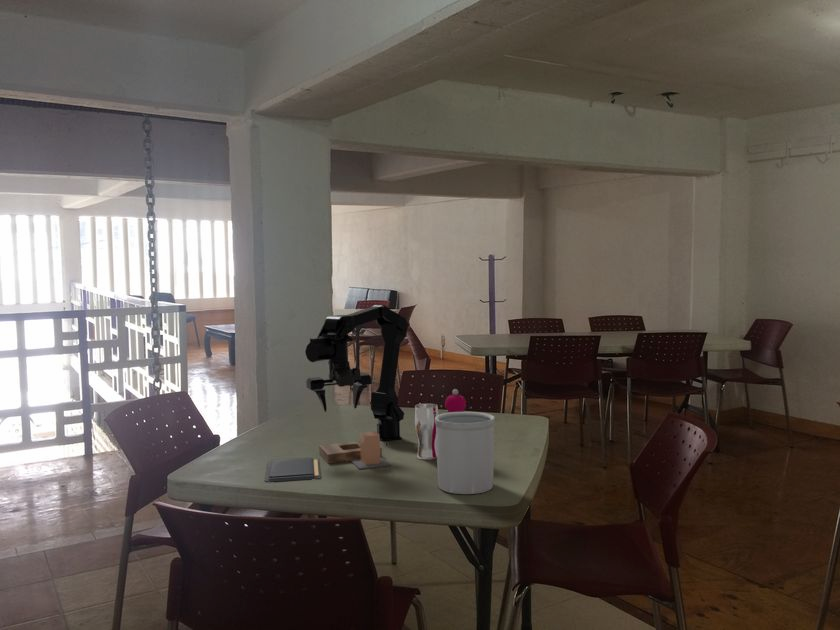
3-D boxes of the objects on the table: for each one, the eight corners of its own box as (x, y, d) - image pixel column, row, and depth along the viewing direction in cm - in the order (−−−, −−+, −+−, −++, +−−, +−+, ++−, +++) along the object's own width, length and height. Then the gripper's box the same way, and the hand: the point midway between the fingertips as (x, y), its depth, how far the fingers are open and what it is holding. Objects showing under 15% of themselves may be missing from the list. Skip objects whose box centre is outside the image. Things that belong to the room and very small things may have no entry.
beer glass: (442, 454, 203) (441, 403, 202) (435, 461, 197) (433, 408, 196) (419, 453, 206) (418, 402, 205) (411, 459, 199) (410, 407, 198)
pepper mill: (451, 463, 194) (450, 392, 193) (439, 457, 201) (437, 388, 199) (473, 459, 197) (472, 389, 196) (460, 453, 204) (459, 386, 202)
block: (375, 459, 198) (374, 431, 198) (380, 463, 194) (379, 434, 194) (360, 460, 197) (359, 433, 196) (365, 464, 193) (364, 436, 192)
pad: (380, 457, 201) (380, 456, 201) (390, 465, 193) (390, 464, 193) (350, 461, 198) (350, 459, 198) (359, 469, 190) (359, 468, 190)
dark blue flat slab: (267, 457, 199) (321, 454, 201) (268, 464, 199) (321, 461, 201) (261, 478, 180) (321, 474, 182) (261, 485, 180) (321, 482, 182)
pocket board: (371, 448, 212) (370, 439, 212) (381, 457, 202) (381, 448, 202) (319, 454, 207) (319, 445, 207) (327, 463, 196) (327, 454, 196)
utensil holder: (444, 475, 183) (443, 409, 182) (500, 479, 179) (499, 411, 177) (428, 493, 169) (427, 421, 168) (489, 497, 165) (488, 424, 163)
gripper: (314, 363, 195) (316, 418, 196) (377, 358, 203) (378, 411, 204) (305, 359, 206) (307, 411, 207) (365, 354, 213) (366, 404, 214)
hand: (340, 409), depth 208 cm, fingers open, 9 cm apart
